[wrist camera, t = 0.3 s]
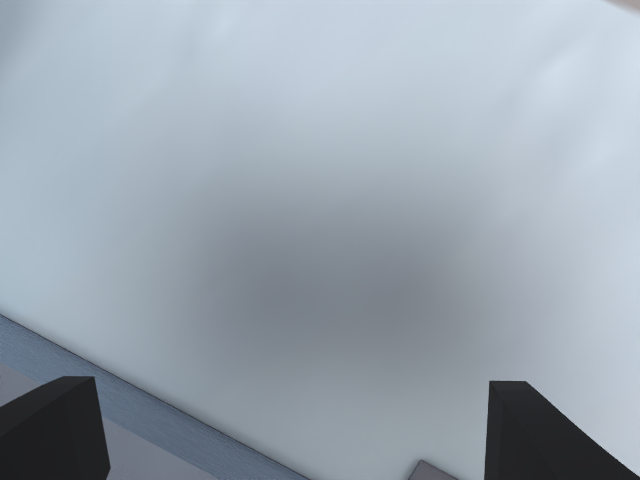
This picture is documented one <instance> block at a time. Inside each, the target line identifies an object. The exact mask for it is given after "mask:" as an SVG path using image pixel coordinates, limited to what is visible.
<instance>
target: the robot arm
mask: <svg viewBox="0 0 640 480" xmlns="http://www.w3.org/2000/svg"><path fill="white" fill-rule="evenodd" d="M110 469H111V466H110V460H109V455H108V449H107V443H106V438H105V432H104V427H103V421H102V416H101V410H100V404H99V399H98V393H97V388H96V382H95V377H94V376H62V377H60V378H57V379H55V380H52V381H50V382H48V383H46V384H43V385H41V386H39V387H37V388H35V389H33V390H31V391H29V392H27V393H25V394H23V395H22V396H20V397H18V398H16V399H14V400H12V401H10V402H8V403H6V404H5V405H3V406H1V407H0V480H106V479H107V477H108V474H109V472H110ZM484 480H640V477H639V476H637V475H636V474H635V473H633V472H632V471H631V470H629V469H628V468H627V467H626V466H624V465H623V464H622V463H621V462H619V461H618V460H617V459H615V458H614V457H613V456H612V455H610V454H609V453H608V452H607V451H606V450H604V449H603V448H602V447H601V446H599V445H598V444H597V443H596V442H595V441H594V440H592V439H591V438H590V437H589V436H588V435H586V434H585V433H584V432H583V431H582V430H581V429H579V428H578V427H577V426H576V425H575V424H574V423H572V422H571V421H570V420H569V419H568V418H567V417H566V416H565V415H563V414H562V413H561V412H560V411H559V410H558V409H557V408H556V407H554V406H553V405H552V404H551V403H550V402H549V401H548V400H547V399H546V398H544V397H543V396H542V395H541V394H540V393H539V392H538V391H537V390H535V389H534V388H533V387H532V386H531V385H530V384H528V383H527V382H526V381H490V383H489V401H488V419H487V437H486V456H485V474H484Z"/></svg>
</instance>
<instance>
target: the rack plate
mask: <svg viewBox="0 0 640 480" xmlns="http://www.w3.org/2000/svg"><path fill="white" fill-rule="evenodd" d="M62 376H94V377H95V382H96V388H97V393H98V399H99V404H100V410H101V416H102V421H103V427H104V432H105V438H106V443H107V449H108V455H109V460H110V466H111V469H110V472H109V474H108V477H107V479H106V480H308V479H307V478H305V477H303V476H301V475H299V474H297V473H295V472H293V471H292V470H290V469H288V468H286V467H284V466H282V465H280V464H278V463H277V462H275V461H273V460H271V459H269V458H267V457H265V456H263V455H262V454H260V453H258V452H256V451H254V450H252V449H250V448H249V447H247V446H245V445H243V444H241V443H239V442H237V441H235V440H234V439H232V438H230V437H228V436H226V435H224V434H222V433H220V432H219V431H217V430H215V429H213V428H211V427H209V426H207V425H205V424H204V423H202V422H200V421H198V420H196V419H194V418H192V417H190V416H189V415H187V414H185V413H183V412H181V411H179V410H177V409H176V408H174V407H172V406H170V405H168V404H166V403H164V402H162V401H161V400H159V399H157V398H155V397H153V396H151V395H149V394H147V393H146V392H144V391H142V390H140V389H138V388H136V387H134V386H132V385H131V384H129V383H127V382H125V381H123V380H121V379H119V378H118V377H116V376H114V375H112V374H110V373H108V372H106V371H104V370H103V369H101V368H99V367H97V366H95V365H93V364H91V363H89V362H88V361H86V360H84V359H82V358H80V357H78V356H76V355H74V354H73V353H71V352H69V351H67V350H65V349H63V348H61V347H59V346H58V345H56V344H54V343H52V342H50V341H48V340H46V339H45V338H43V337H41V336H39V335H37V334H35V333H33V332H31V331H30V330H28V329H26V328H24V327H22V326H20V325H18V324H16V323H15V322H13V321H11V320H9V319H7V318H5V317H3V316H1V315H0V407H1V406H3V405H5V404H6V403H8V402H10V401H12V400H14V399H16V398H18V397H20V396H22V395H23V394H25V393H27V392H29V391H31V390H33V389H35V388H37V387H39V386H41V385H43V384H46V383H48V382H50V381H52V380H55V379H57V378H60V377H62Z"/></svg>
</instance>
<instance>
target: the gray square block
mask: <svg viewBox="0 0 640 480" xmlns="http://www.w3.org/2000/svg"><path fill="white" fill-rule="evenodd" d="M409 480H457V479H455V478H453V477H452V476H450V475H448V474H446V473H444V472H442V471H440V470H438V469H437V468H435V467H433V466H431V465H429V464H427V463H425V462H424V461H422V460H421V461H420V463H419V464H418V466H417V468H416V469H415V471H414V472H413V474H412V475H411V477H410V478H409Z"/></svg>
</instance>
